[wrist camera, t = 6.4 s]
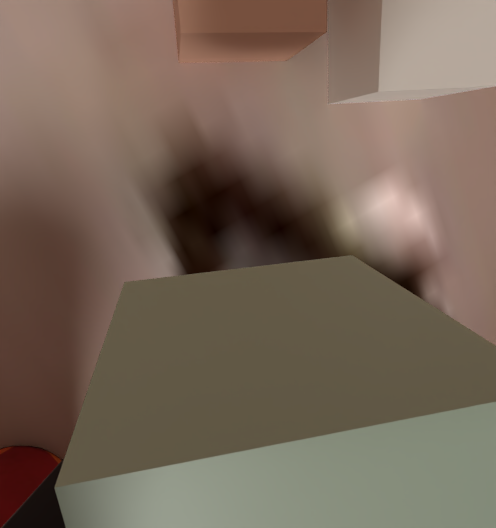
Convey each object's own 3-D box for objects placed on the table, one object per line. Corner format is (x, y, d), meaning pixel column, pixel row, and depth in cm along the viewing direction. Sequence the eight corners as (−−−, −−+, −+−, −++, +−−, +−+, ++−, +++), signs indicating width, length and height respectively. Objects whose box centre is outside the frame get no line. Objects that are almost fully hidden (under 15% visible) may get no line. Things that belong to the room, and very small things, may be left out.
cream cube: (427, -15, 18) (517, -70, 13) (419, 99, 20) (496, 86, 15) (327, -15, 17) (385, -74, 13) (327, 104, 19) (378, 91, 14)
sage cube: (352, 255, 9) (563, 388, 4) (346, 433, 10) (494, 680, 6) (124, 281, 8) (54, 486, 3) (157, 470, 9) (142, 794, 5)
